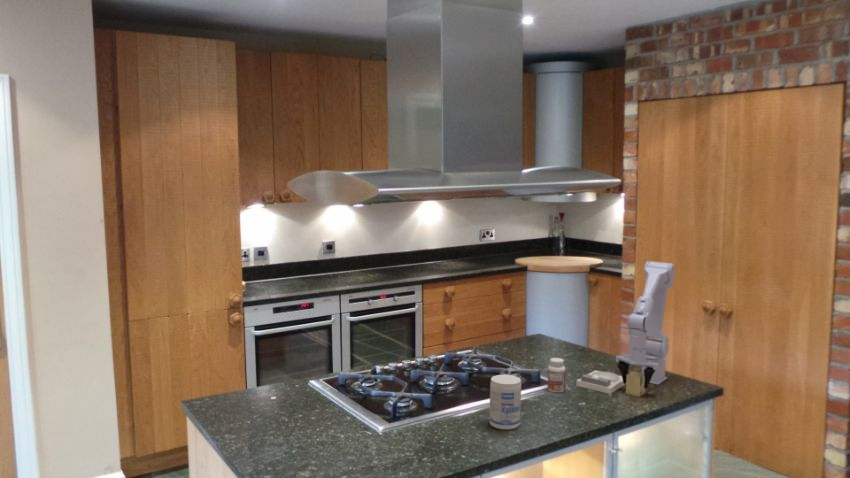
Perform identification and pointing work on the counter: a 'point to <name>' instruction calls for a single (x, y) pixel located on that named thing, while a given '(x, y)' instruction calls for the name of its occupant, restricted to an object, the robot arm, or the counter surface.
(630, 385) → the block
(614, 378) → the kitchen scale
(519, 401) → the supplement tub
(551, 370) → the pill bottle
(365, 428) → the counter surface
